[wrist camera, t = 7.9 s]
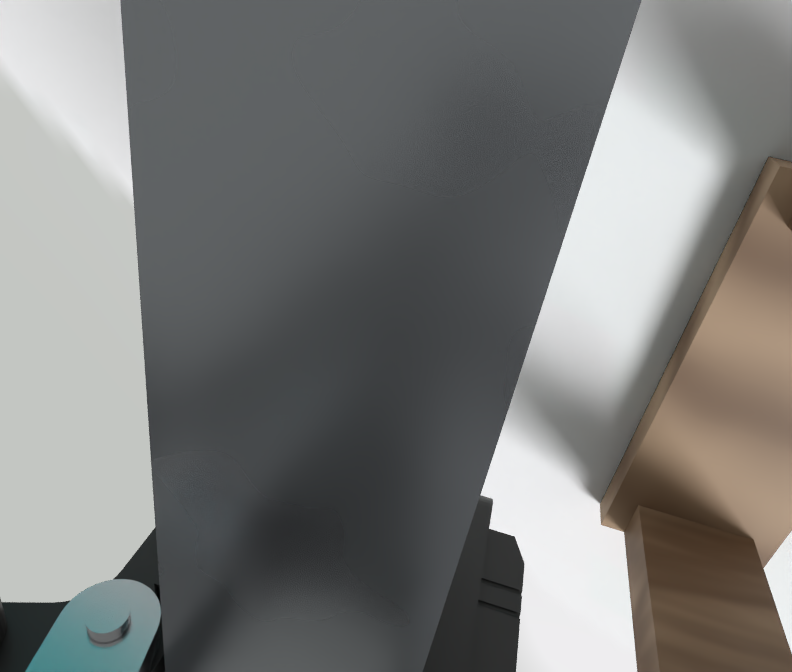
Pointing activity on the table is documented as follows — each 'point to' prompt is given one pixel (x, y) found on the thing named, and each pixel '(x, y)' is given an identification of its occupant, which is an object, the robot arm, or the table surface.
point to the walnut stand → (717, 462)
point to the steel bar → (342, 298)
